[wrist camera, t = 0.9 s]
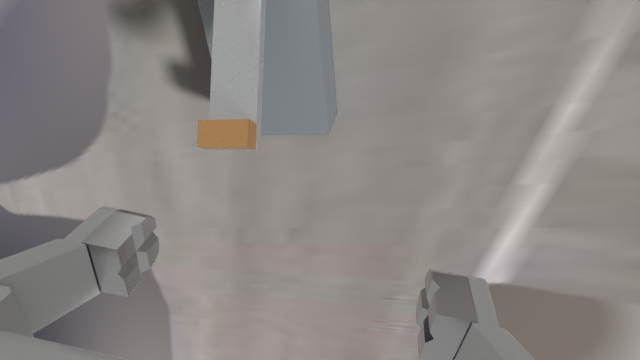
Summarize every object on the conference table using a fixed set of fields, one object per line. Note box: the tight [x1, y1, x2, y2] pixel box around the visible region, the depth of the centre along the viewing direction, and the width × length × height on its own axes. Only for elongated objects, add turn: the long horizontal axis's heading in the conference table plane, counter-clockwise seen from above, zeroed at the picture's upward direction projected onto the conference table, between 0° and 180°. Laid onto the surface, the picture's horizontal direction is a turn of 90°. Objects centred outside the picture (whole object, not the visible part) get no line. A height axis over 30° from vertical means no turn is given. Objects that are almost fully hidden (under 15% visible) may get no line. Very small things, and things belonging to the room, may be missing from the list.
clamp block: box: [197, 0, 337, 135], centre depth 37 cm, size 11×20×9 cm, turn 6°
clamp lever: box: [197, 0, 266, 151], centre depth 30 cm, size 4×17×3 cm
